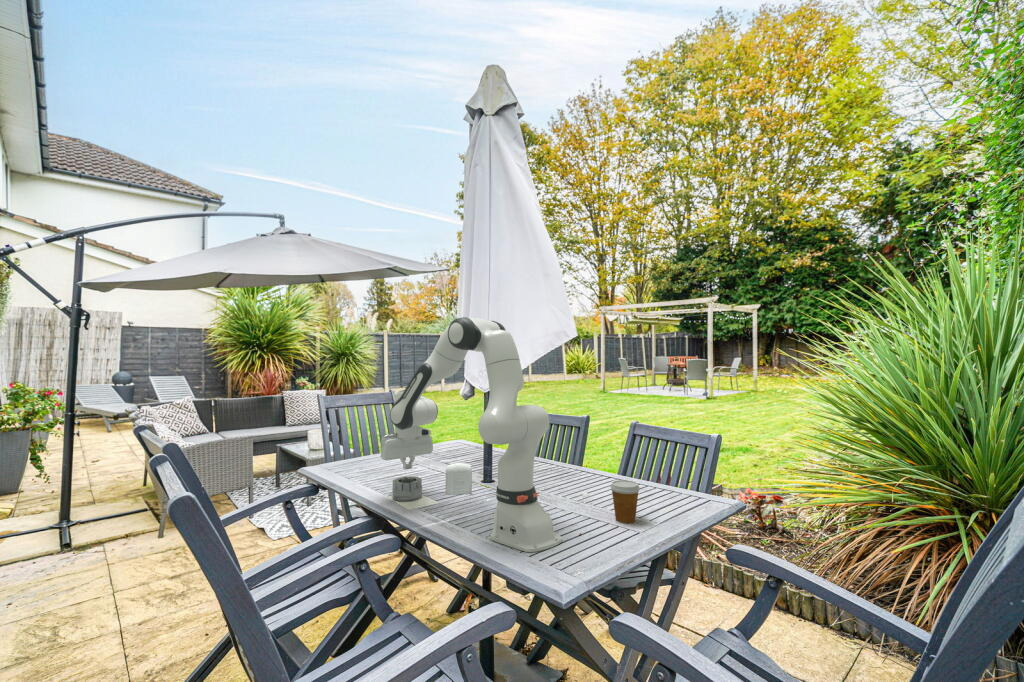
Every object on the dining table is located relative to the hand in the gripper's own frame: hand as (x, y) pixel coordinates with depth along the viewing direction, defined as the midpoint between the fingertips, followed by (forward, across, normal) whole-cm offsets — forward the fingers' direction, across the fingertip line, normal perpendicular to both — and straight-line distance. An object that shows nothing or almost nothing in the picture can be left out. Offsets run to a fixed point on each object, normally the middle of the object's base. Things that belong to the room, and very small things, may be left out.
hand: (407, 468), depth 184 cm
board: (+12, 0, -3) cm, 12 cm away
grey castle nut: (+11, 0, +1) cm, 11 cm away
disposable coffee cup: (+14, +46, -65) cm, 81 cm away
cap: (+7, 0, 0) cm, 7 cm away
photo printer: (+12, +18, -6) cm, 23 cm away
